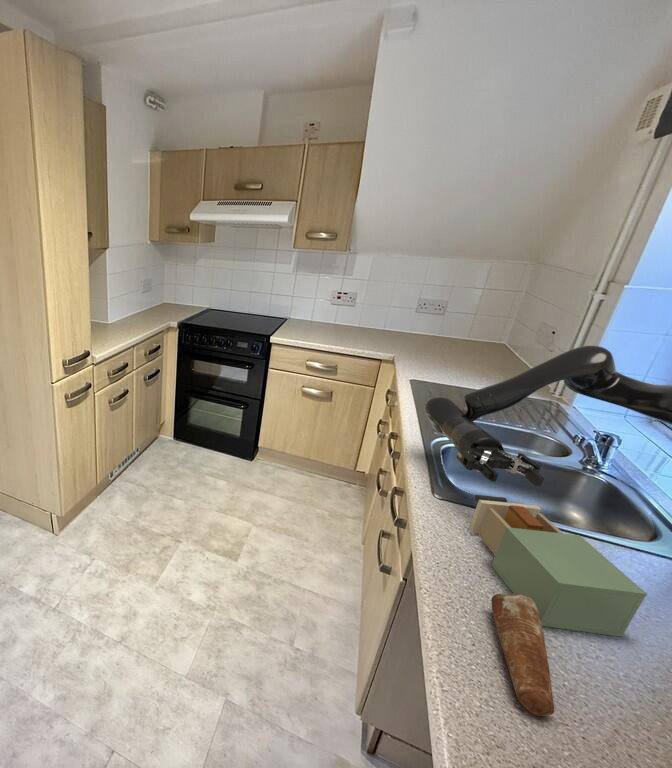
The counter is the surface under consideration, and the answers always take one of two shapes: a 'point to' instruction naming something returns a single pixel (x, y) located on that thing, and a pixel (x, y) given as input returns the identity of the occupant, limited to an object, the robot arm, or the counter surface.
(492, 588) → the counter surface
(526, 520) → the brown block
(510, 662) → the bread
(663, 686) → the counter surface
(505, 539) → the cabinet
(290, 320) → the counter surface
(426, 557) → the counter surface
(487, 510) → the drawer
